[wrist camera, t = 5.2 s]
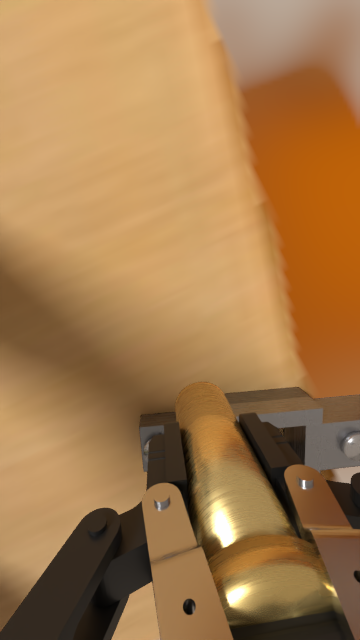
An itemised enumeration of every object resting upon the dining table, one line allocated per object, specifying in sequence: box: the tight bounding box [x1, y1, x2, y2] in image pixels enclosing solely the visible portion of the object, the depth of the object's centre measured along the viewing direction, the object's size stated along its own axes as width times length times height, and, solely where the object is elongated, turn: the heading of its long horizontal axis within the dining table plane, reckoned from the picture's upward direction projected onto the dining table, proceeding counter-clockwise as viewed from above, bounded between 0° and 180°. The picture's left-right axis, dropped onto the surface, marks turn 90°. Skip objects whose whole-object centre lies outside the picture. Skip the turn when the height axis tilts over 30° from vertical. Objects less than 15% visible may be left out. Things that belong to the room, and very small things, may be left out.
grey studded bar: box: [139, 387, 360, 473], centre depth 24 cm, size 7×23×5 cm, turn 94°
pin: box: [175, 382, 334, 629], centre depth 10 cm, size 4×4×10 cm
